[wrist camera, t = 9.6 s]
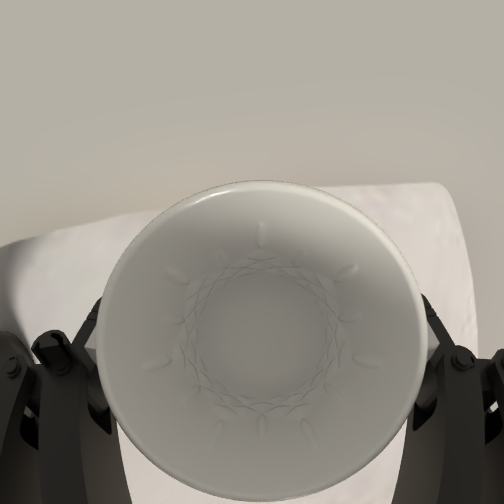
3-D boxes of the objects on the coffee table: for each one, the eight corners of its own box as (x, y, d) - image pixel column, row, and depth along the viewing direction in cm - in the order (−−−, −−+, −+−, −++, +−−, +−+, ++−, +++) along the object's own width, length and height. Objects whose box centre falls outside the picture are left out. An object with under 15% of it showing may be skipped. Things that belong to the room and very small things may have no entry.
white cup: (326, 265, 16) (409, 184, 6) (329, 396, 14) (412, 476, 4) (193, 267, 16) (109, 189, 6) (194, 397, 14) (111, 479, 4)
